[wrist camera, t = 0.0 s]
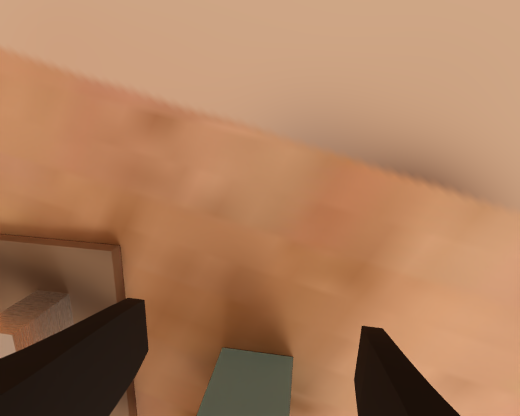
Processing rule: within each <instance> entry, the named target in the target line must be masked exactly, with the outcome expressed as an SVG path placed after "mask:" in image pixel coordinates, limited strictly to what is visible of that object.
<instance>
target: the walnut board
mask: <svg viewBox="0 0 520 416" xmlns="http://www.w3.org/2000/svg"><path fill="white" fill-rule="evenodd" d="M36 290H41V291H49V292H58V293H66V294H69V297H70V303H71V310H72V316H73V322H74V324H76V323H78V322H80V321H82V320H84V319H86V318H88V317H90V316H92V315H93V314H95V313H97V312H99V311H101V310H103V309H105V308H107V307H109V306H111V305H113V304H115V303H117V302H120V301H122V300H124V299H125V291H124V281H123V271H122V261H121V251H120V245H109V244H99V243H88V242H78V241H67V240H57V239H46V238H36V237H25V236H15V235H4V234H0V313H1V312H2V311H4V310H6V309H7V308H9V307H10V306H12V305H14V304H15V303H17V302H18V301H20V300H22V299H23V298H25V297H26V296H28V295H30V294H31V293H33V292H34V291H36ZM110 416H137V411H136V401H135V391H134V381H132V383H131V384H130V386H129V387H128V389H127V390H126V392H125V393H124V395H123V396H122V398H121V399H120V401H119V402H118V404H117V405H116V407H115V408H114V410H113V411H112V413H111V414H110Z"/></svg>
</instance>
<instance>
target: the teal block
mask: <svg viewBox="0 0 520 416" xmlns="http://www.w3.org/2000/svg"><path fill="white" fill-rule="evenodd" d="M292 367H293V357H289V356H282V355H274V354H267V353H260V352H252V351H245V350H238V349H230V348H223V347H222V350H221V352H220V355H219V358H218V360H217V363H216V366H215V368H214V371H213V374H212V376H211V379H210V382H209V384H208V387H207V389H206V392H205V395H204V397H203V400H202V403H201V405H200V408H199V411H198V413H197V416H289V414H290V398H291V383H292Z"/></svg>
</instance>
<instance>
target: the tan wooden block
mask: <svg viewBox="0 0 520 416" xmlns="http://www.w3.org/2000/svg"><path fill="white" fill-rule="evenodd" d="M72 325H74V322H73V316H72V310H71V303H70V297H69V294H66V293H58V292H49V291H41V290H36V291H34V292H33V293H31V294H30V295H28V296H26V297H25V298H23V299H22V300H20V301H18V302H17V303H15V304H14V305H12V306H10V307H9V308H7V309H6V310H4V311H2V312H1V313H0V358H2V357H5V356H7V355H10V354H12V353H14V352H17V351H19V350H21V349H24V348H26V347H28V346H30V345H32V344H34V343H36V342H39V341H41V340H43V339H45V338H47V337H49V336H51V335H53V334H56V333H58V332H60V331H62V330H64V329H66V328H68V327H70V326H72Z"/></svg>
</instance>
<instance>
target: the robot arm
mask: <svg viewBox="0 0 520 416" xmlns="http://www.w3.org/2000/svg"><path fill="white" fill-rule="evenodd" d="M147 352H148V338H147V326H146V314H145V301H144V300H141V299H132V298H127V299H124V300H122V301H120V302H117V303H115V304H113V305H111V306H109V307H107V308H105V309H103V310H101V311H99V312H97V313H95V314H93V315H92V316H90V317H88V318H86V319H84V320H82V321H80V322H78V323H76V324H74V325H72V326H70V327H68V328H66V329H64V330H62V331H60V332H58V333H56V334H53V335H51V336H49V337H47V338H45V339H43V340H41V341H39V342H36V343H34V344H32V345H30V346H28V347H26V348H24V349H21V350H19V351H17V352H14V353H12V354H10V355H7V356H5V357H2V358H0V416H110V414H111V413H112V411H113V410H114V408H115V407H116V405H117V404H118V402H119V401H120V399H121V398H122V396H123V395H124V393H125V392H126V390H127V389H128V387H129V386H130V384H131V383H132V381H133V379H134V378H135V376H136V374H137V372H138V370H139V368H140V366H141V364H142V362H143V360H144V358H145V356H146V354H147ZM354 382H355V392H356V402H357V410H358V416H460V415H459V414H458V413H457V412H456V411H455V410H454V409H453V408H452V407H451V406H450V405H449V404H448V403H447V402H446V401H445V400H444V398H443V397H442V396H441V395H440V394H439V393H438V392H437V391H436V390H435V389H434V388H433V387H432V386H431V385H430V384H429V382H428V381H427V380H426V379H425V378H424V377H423V376H422V375H421V373H420V372H419V371H418V370H417V369H416V368H415V367H414V365H413V364H412V363H411V362H410V361H409V360H408V358H407V357H406V356H405V355H404V354H403V352H402V351H401V350H400V349H399V348H398V346H397V345H396V344H395V343H394V342H393V340H392V339H391V338H390V337H389V336H388V334H387V333H386V332H385V331H384V330H383V328H375V327H367V326H362V329H361V336H360V343H359V350H358V357H357V364H356V370H355V377H354Z"/></svg>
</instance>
